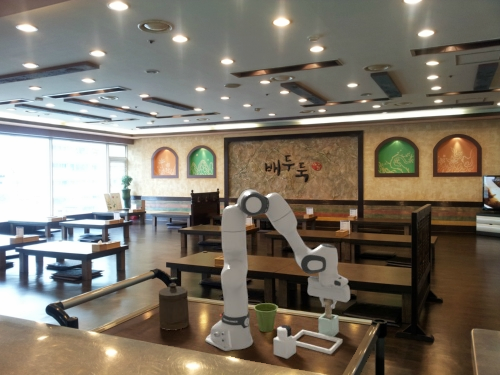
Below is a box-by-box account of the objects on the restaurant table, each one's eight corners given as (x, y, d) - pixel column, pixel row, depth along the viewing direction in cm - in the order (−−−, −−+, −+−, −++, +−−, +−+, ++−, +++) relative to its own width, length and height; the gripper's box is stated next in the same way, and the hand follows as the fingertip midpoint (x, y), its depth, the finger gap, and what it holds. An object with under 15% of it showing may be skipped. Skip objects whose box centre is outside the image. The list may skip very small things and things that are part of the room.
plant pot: (276, 335, 198) (276, 312, 197) (252, 333, 200) (251, 311, 200) (280, 325, 210) (279, 303, 209) (257, 323, 212) (256, 302, 211)
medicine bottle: (282, 348, 185) (282, 322, 184) (296, 352, 180) (295, 326, 179) (273, 354, 179) (272, 327, 178) (287, 359, 175) (286, 331, 174)
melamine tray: (289, 345, 187) (289, 340, 187) (302, 334, 198) (302, 329, 198) (330, 356, 176) (330, 350, 176) (342, 344, 186) (342, 339, 186)
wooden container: (192, 319, 221) (190, 278, 219) (185, 331, 206) (182, 288, 204) (164, 319, 222) (162, 279, 221) (156, 330, 208) (153, 288, 206)
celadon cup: (318, 336, 195) (318, 317, 194) (324, 330, 201) (324, 312, 200) (332, 339, 191) (332, 320, 190) (338, 334, 197) (338, 315, 196)
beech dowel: (324, 328, 195) (324, 299, 194) (326, 326, 198) (326, 297, 196) (330, 330, 193) (330, 300, 192) (332, 327, 196) (332, 298, 195)
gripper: (305, 276, 197) (305, 305, 198) (346, 283, 185) (346, 313, 186) (311, 273, 202) (311, 301, 203) (351, 280, 190) (351, 309, 192)
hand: (328, 307), depth 195 cm, fingers closed on beech dowel, 3 cm apart
